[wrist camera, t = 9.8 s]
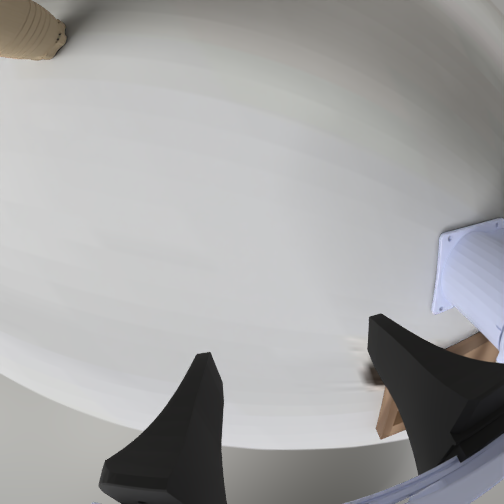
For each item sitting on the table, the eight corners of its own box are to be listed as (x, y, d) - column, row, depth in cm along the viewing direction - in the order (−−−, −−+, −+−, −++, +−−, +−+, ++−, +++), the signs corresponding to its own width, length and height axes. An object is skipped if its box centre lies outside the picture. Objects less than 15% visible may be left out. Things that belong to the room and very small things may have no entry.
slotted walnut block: (499, 320, 25) (508, 328, 23) (475, 381, 29) (482, 389, 27) (387, 372, 25) (395, 385, 23) (375, 428, 29) (380, 439, 28)
